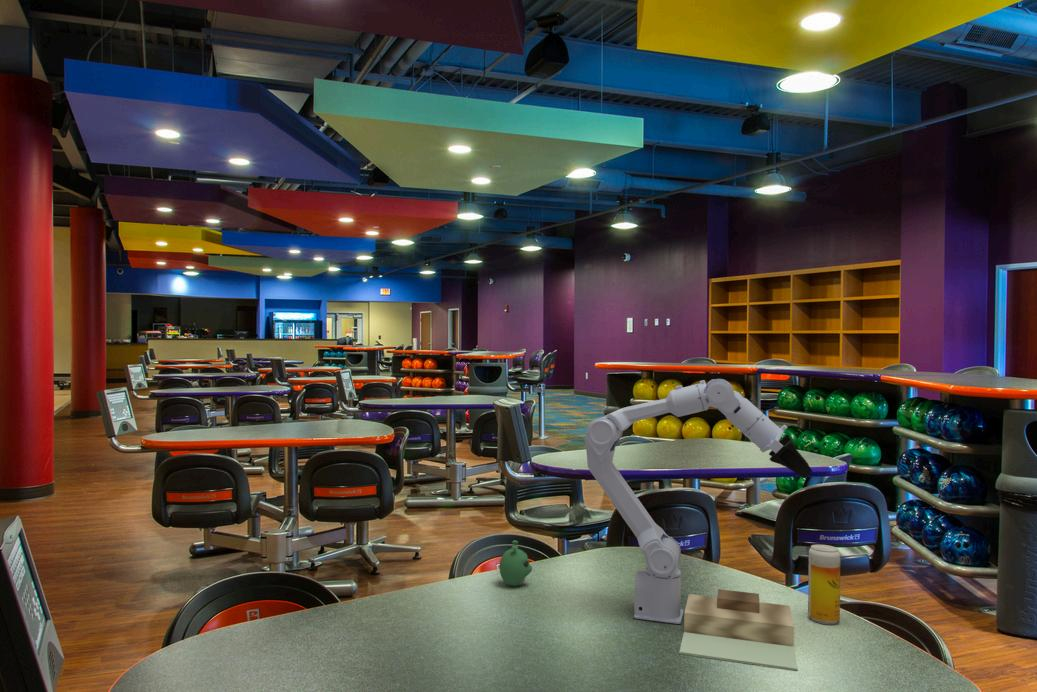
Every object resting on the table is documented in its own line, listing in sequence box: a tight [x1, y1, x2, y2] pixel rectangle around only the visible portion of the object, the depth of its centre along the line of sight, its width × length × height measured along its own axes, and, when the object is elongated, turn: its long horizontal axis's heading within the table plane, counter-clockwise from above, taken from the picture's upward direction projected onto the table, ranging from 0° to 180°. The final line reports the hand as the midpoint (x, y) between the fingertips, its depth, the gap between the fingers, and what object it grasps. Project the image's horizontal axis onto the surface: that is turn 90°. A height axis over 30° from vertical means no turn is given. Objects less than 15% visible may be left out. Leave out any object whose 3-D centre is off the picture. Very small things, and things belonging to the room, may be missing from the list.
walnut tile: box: [716, 589, 760, 613], centre depth 142 cm, size 8×6×2 cm
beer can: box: [807, 544, 841, 625], centre depth 147 cm, size 6×6×15 cm
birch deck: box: [683, 593, 795, 647], centre depth 140 cm, size 20×12×4 cm, turn 72°
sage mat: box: [678, 631, 798, 672], centre depth 129 cm, size 20×10×1 cm, turn 72°
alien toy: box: [499, 539, 533, 587], centre depth 165 cm, size 7×8×10 cm
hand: (807, 471), depth 139 cm, fingers open, 7 cm apart
